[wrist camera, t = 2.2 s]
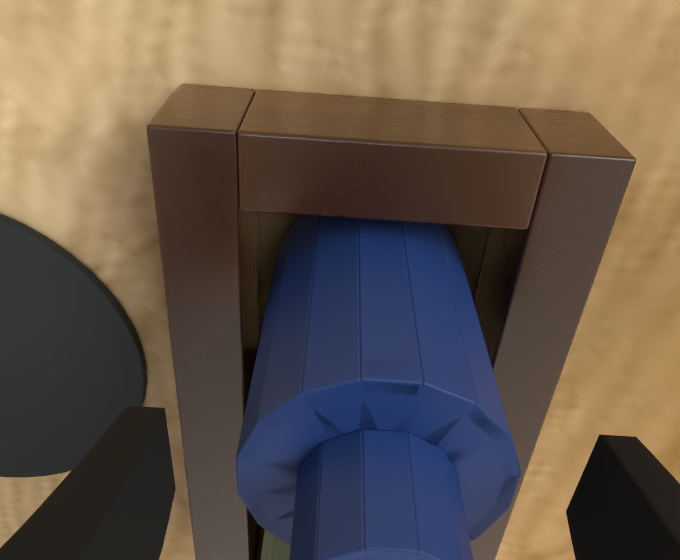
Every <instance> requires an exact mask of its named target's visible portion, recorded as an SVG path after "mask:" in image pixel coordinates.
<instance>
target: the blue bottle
mask: <svg viewBox="0 0 680 560" xmlns="http://www.w3.org/2000/svg"><path fill="white" fill-rule="evenodd" d="M236 472H237V491H238V494H239V496H240V498H241V499H242V501H243V502H244V504H245V505H246V507H247V508H248V510H249V511H250V513H251V514H252V516H253V517H254V519H255V520H256V522H257V523H258V524H259V525H260V526H261V527H262V528H264V529H265V530H267V531H268V532H270V533H271V534H273V535H274V536H276V537H277V538H279V539H280V540H282V541H283V542H285V543H286V544H288V545H290V556H289V560H473V557H472V551H471V545H470V541H473V540H475V539H477V538H478V537H480V536H481V535H482V534H483V533H484V532H485V531H486V530H487V529H488V528H489V527H490V526H491V525H493V524H494V523H495V522H496V521H497V520H498V519H499V518H500V517H501V516H502V515H503V514H504V513H505V512H506V511H507V510H508V508H509V507H510V504H511V501H512V498H513V495H514V492H515V489H516V487H517V484H518V481H519V478H520V475H521V470H520V466H519V462H518V458H517V455H516V451H515V447H514V443H513V440H512V436H511V432H510V429H509V425H508V422H507V418H506V415H505V411H504V408H503V404H502V401H501V397H500V393H499V390H498V386H497V383H496V379H495V376H494V372H493V369H492V365H491V362H490V358H489V355H488V351H487V347H486V344H485V340H484V337H483V333H482V330H481V326H480V323H479V319H478V316H477V312H476V309H475V305H474V301H473V298H472V294H471V291H470V287H469V284H468V280H467V277H466V273H465V270H464V266H463V263H462V259H461V255H460V252H459V248H458V245H457V241H456V240H455V238H454V236H453V234H452V232H451V230H450V228H449V227H448V226H447V224H435V223H420V222H405V221H389V220H374V219H359V218H344V217H329V216H314V215H301V216H299V217H298V218H297V220H296V221H295V222H294V223H293V224H292V226H291V227H290V229H289V230H288V232H287V233H286V235H285V237H284V239H283V242H282V244H281V247H280V251H279V254H278V256H277V258H276V262H275V267H274V272H273V277H272V282H271V287H270V292H269V296H268V301H267V306H266V311H265V316H264V321H263V326H262V331H261V336H260V341H259V346H258V351H257V356H256V361H255V365H254V370H253V375H252V380H251V385H250V390H249V395H248V400H247V405H246V410H245V415H244V420H243V425H242V430H241V434H240V439H239V444H238V449H237V454H236Z"/></svg>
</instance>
